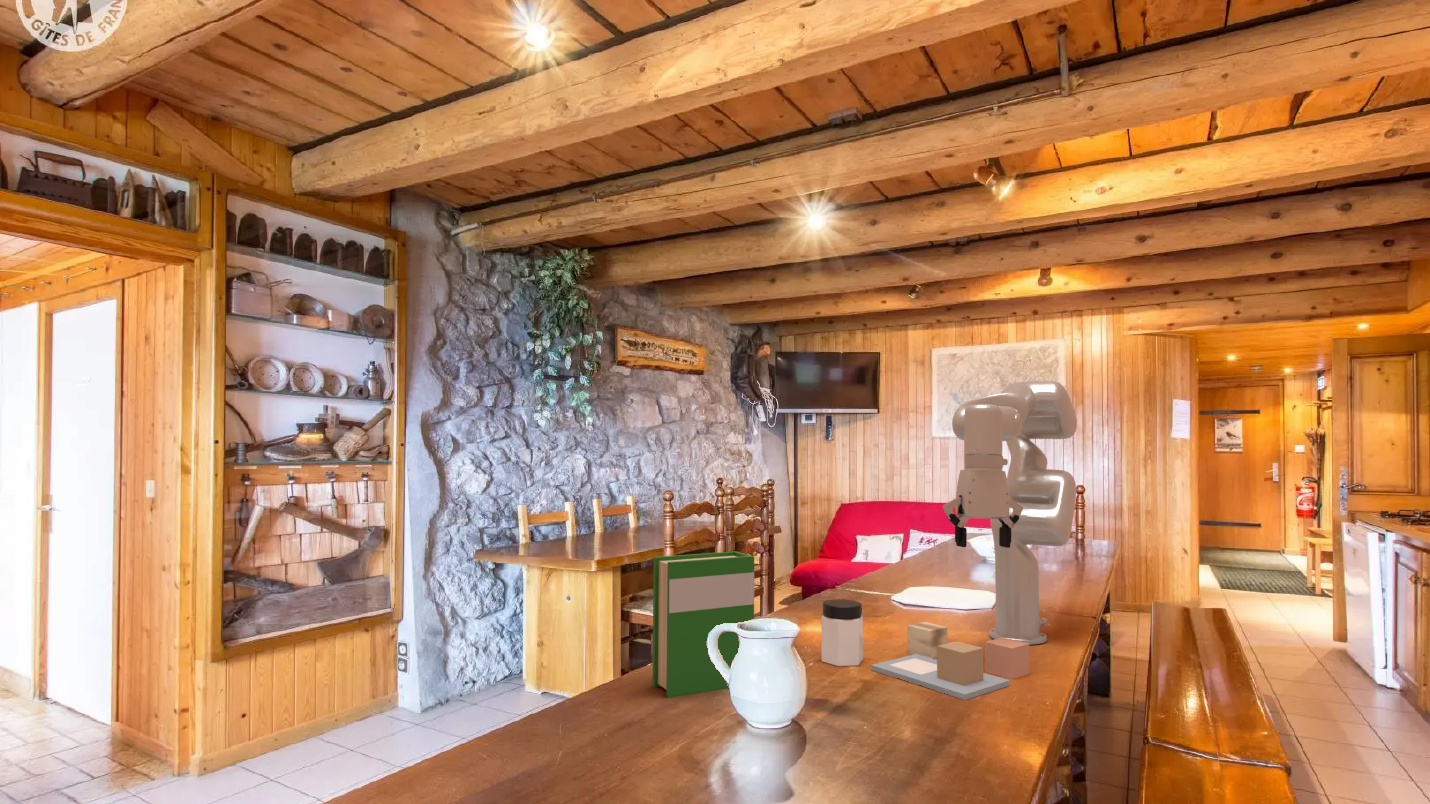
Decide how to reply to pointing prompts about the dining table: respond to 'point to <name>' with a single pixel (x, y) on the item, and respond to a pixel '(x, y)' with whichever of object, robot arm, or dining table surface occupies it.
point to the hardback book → (697, 617)
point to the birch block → (925, 638)
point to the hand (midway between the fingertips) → (983, 546)
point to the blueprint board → (938, 682)
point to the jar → (842, 632)
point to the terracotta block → (1007, 658)
